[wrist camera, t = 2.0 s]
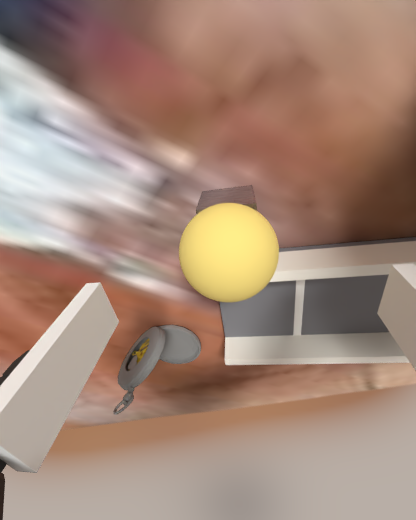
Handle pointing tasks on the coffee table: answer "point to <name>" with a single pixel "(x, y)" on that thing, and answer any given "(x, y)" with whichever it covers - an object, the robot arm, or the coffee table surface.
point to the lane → (319, 307)
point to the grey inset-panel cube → (227, 197)
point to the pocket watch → (155, 356)
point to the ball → (228, 252)
